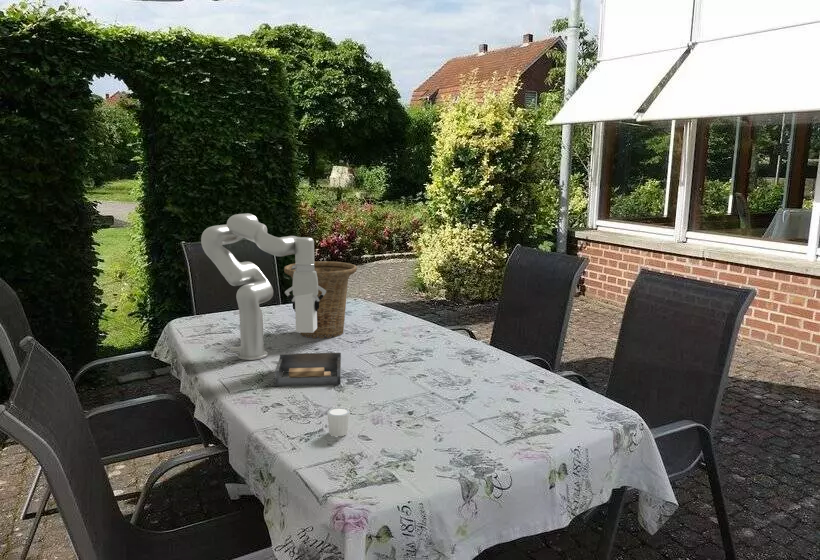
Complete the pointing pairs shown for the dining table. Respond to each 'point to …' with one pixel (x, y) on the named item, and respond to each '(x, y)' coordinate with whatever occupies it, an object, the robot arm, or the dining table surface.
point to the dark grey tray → (308, 361)
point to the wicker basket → (330, 296)
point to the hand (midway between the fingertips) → (306, 310)
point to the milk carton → (305, 313)
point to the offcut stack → (308, 372)
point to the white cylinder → (338, 421)
